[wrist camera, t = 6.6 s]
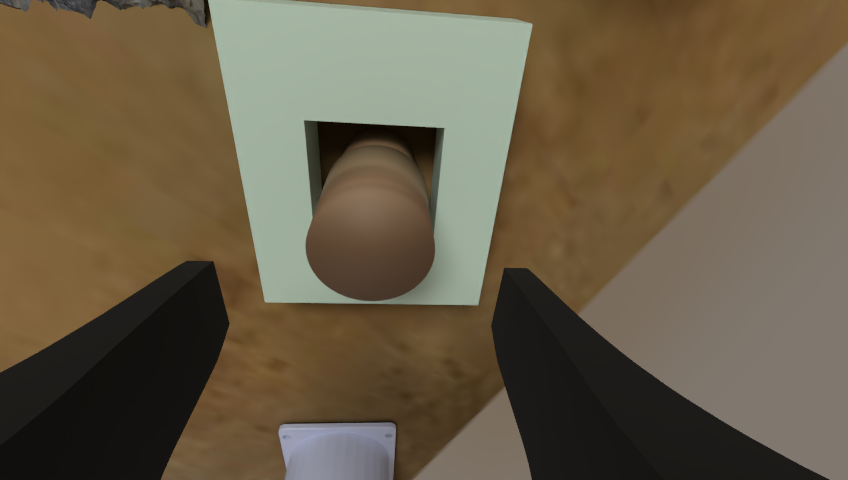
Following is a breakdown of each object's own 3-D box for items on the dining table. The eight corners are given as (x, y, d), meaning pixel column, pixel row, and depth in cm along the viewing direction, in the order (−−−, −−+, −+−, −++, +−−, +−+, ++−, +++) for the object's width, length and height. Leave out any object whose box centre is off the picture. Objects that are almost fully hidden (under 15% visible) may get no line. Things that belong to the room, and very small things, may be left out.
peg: (420, 201, 19) (432, 299, 13) (339, 202, 18) (313, 302, 13) (422, 121, 17) (438, 194, 11) (331, 120, 16) (296, 194, 11)
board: (469, 273, 21) (478, 305, 19) (278, 269, 20) (264, 302, 18) (513, 18, 15) (532, 24, 13) (236, -4, 14) (207, -2, 12)
